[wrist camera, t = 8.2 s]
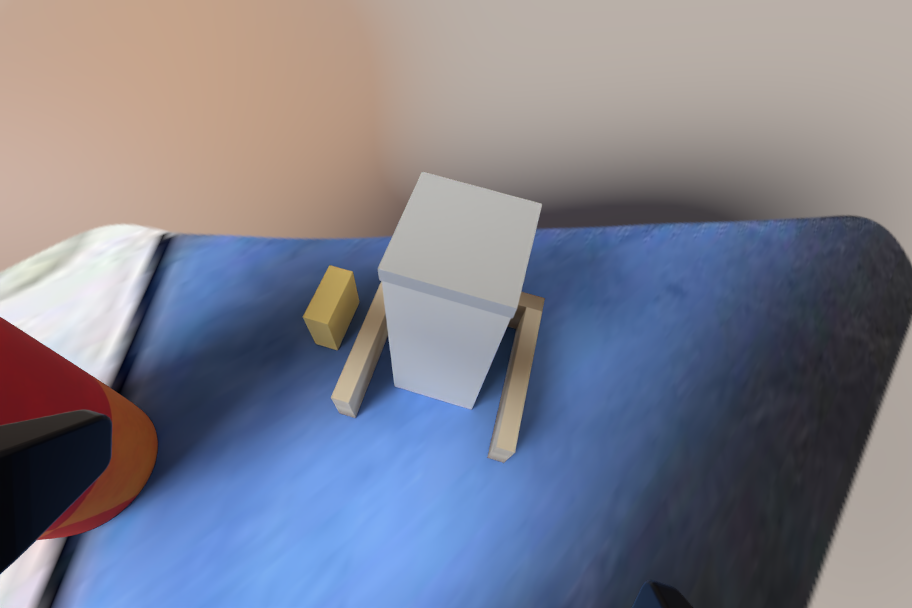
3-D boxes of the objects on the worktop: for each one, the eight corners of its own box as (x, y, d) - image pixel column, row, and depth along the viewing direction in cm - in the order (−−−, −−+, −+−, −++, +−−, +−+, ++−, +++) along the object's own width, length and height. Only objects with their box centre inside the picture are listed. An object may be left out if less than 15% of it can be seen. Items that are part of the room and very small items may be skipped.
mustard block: (337, 350, 22) (327, 324, 19) (315, 344, 22) (302, 316, 19) (359, 302, 23) (352, 271, 21) (339, 296, 24) (329, 265, 21)
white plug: (472, 411, 21) (517, 308, 12) (393, 386, 21) (377, 268, 12) (491, 338, 23) (542, 204, 14) (418, 317, 23) (421, 171, 14)
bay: (504, 462, 20) (514, 452, 18) (339, 413, 20) (330, 397, 18) (532, 320, 24) (544, 298, 22) (394, 281, 24) (392, 255, 22)
